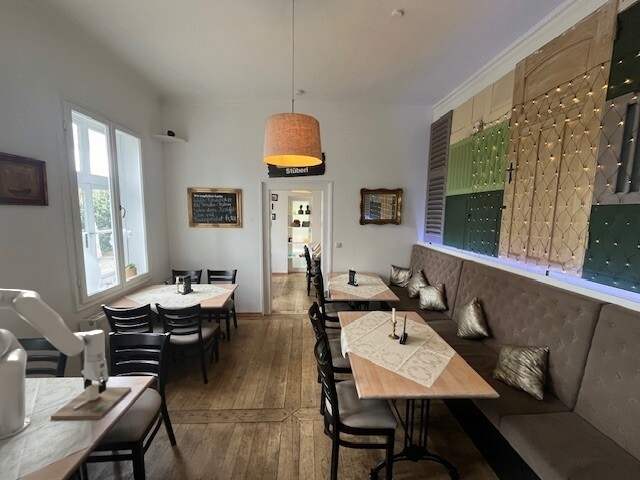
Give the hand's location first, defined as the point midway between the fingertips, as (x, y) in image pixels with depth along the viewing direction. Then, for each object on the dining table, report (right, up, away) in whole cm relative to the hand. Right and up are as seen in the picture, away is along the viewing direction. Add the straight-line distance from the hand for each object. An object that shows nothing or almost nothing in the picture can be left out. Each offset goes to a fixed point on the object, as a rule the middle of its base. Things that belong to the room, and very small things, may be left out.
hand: (95, 389), depth 132 cm
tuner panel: (+1, -6, -1) cm, 6 cm away
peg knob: (-1, -4, -3) cm, 5 cm away
